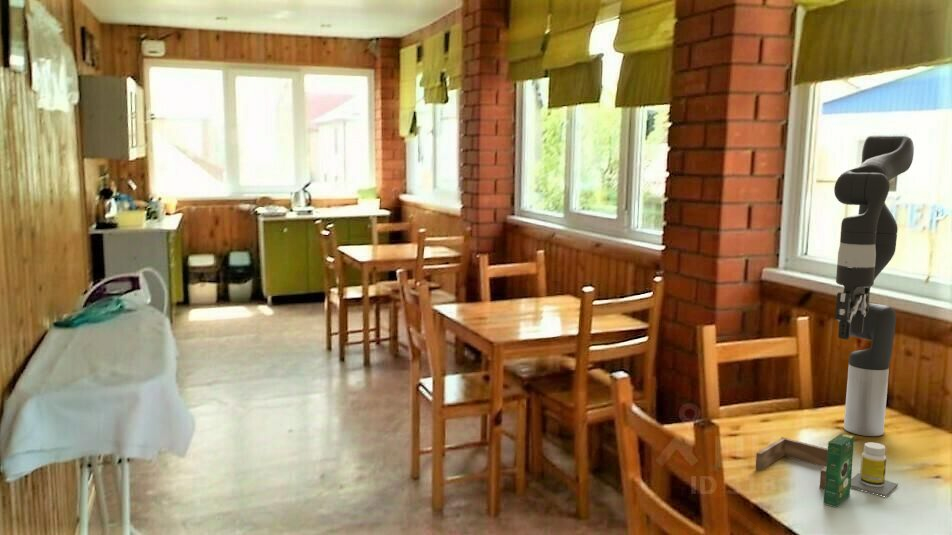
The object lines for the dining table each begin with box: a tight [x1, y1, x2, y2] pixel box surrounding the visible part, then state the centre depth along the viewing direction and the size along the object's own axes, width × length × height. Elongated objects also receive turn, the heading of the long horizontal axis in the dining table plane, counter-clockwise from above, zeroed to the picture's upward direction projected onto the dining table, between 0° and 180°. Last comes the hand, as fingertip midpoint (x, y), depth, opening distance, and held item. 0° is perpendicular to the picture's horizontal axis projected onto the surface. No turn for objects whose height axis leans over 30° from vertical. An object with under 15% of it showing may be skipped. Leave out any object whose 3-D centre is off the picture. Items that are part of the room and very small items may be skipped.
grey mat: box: [850, 472, 899, 498], centre depth 165 cm, size 8×8×1 cm
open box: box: [755, 436, 828, 491], centre depth 173 cm, size 14×15×4 cm
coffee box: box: [823, 433, 855, 508], centre depth 158 cm, size 8×3×13 cm, turn 136°
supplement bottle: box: [859, 441, 887, 487], centre depth 165 cm, size 5×5×8 cm
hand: (850, 335), depth 173 cm, fingers open, 8 cm apart
